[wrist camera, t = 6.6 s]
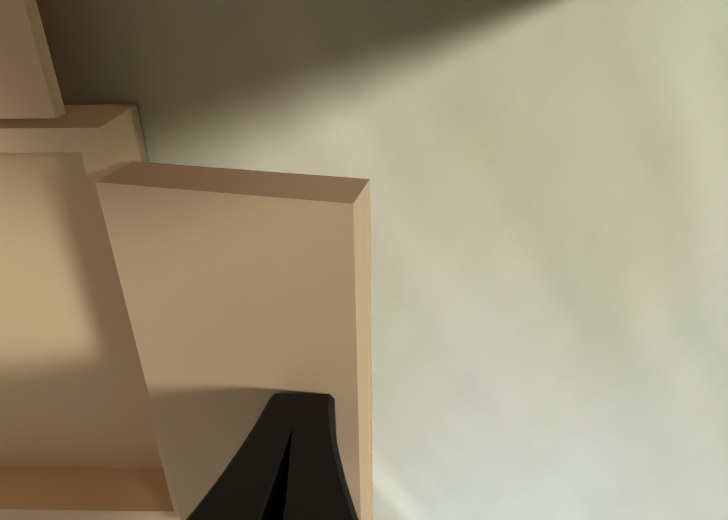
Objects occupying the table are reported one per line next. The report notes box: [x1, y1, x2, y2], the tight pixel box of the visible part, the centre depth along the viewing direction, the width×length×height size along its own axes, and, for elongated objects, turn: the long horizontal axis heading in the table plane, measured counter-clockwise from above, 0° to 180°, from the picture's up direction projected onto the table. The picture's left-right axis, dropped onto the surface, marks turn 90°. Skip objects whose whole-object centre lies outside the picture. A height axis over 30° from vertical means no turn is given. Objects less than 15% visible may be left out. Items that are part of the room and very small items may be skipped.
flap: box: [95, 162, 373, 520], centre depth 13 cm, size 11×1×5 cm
